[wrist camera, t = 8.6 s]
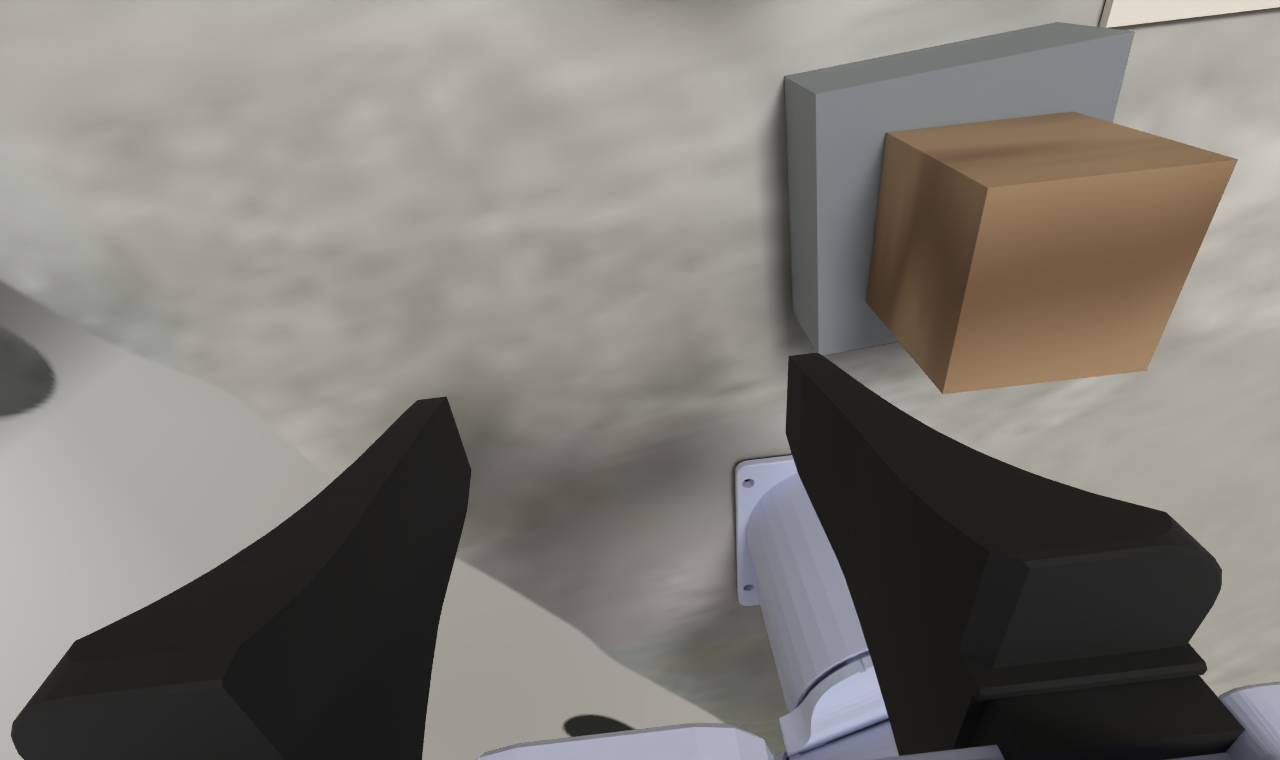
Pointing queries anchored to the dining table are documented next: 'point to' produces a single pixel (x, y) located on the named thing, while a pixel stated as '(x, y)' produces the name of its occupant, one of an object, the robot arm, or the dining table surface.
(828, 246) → the slate block
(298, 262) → the dining table surface
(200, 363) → the dining table surface
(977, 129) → the walnut cube
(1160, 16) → the card
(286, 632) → the robot arm
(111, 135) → the dining table surface
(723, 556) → the dining table surface
